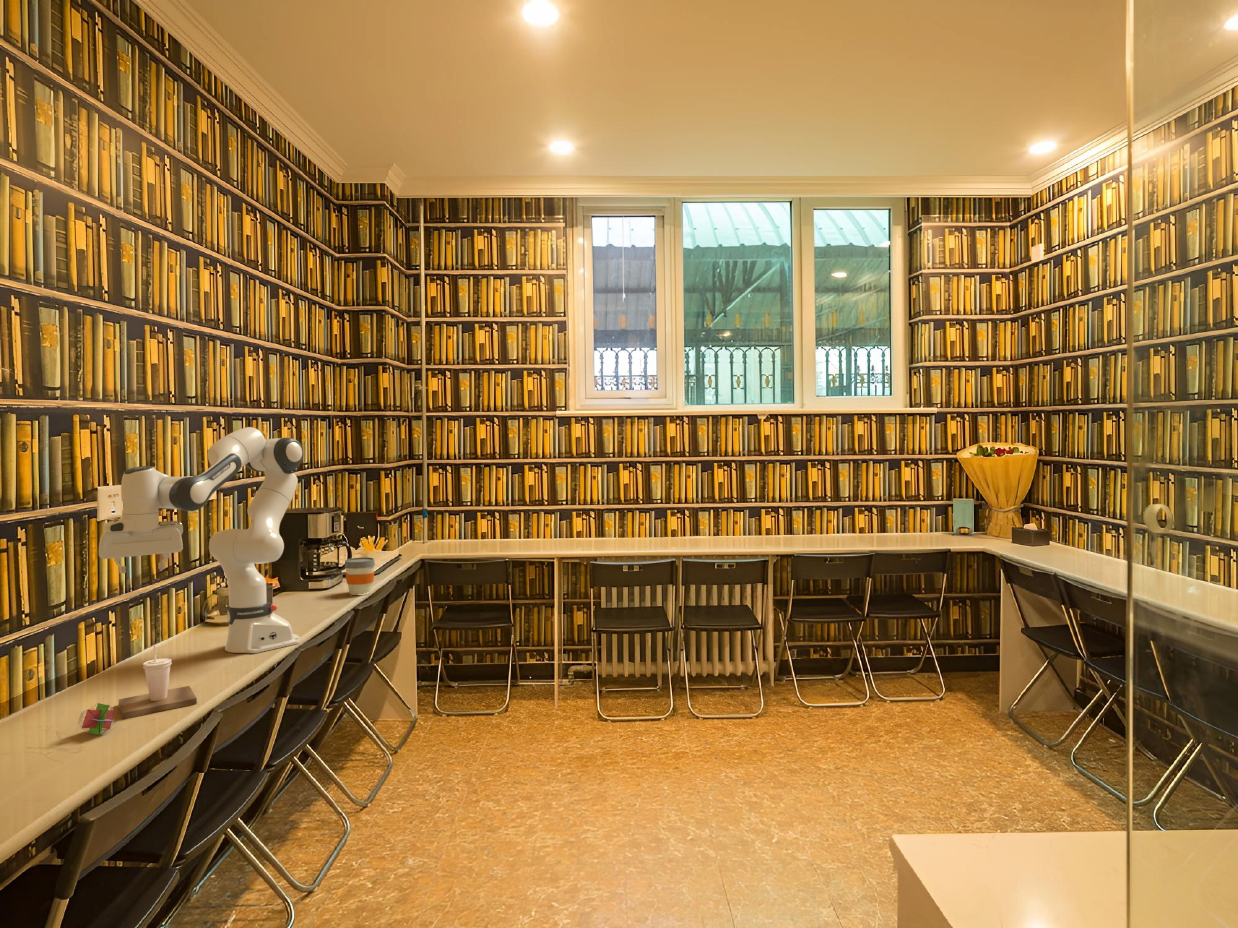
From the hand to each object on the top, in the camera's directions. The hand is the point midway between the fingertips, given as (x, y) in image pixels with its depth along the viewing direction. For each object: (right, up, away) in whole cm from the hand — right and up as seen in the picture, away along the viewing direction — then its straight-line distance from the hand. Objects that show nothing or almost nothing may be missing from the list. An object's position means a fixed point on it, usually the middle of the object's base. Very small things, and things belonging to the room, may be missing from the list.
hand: (142, 570), depth 209 cm
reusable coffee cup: (+23, -26, +110) cm, 116 cm away
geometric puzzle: (+14, -33, -37) cm, 52 cm away
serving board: (+17, -32, -20) cm, 41 cm away
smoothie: (+17, -31, -20) cm, 40 cm away
